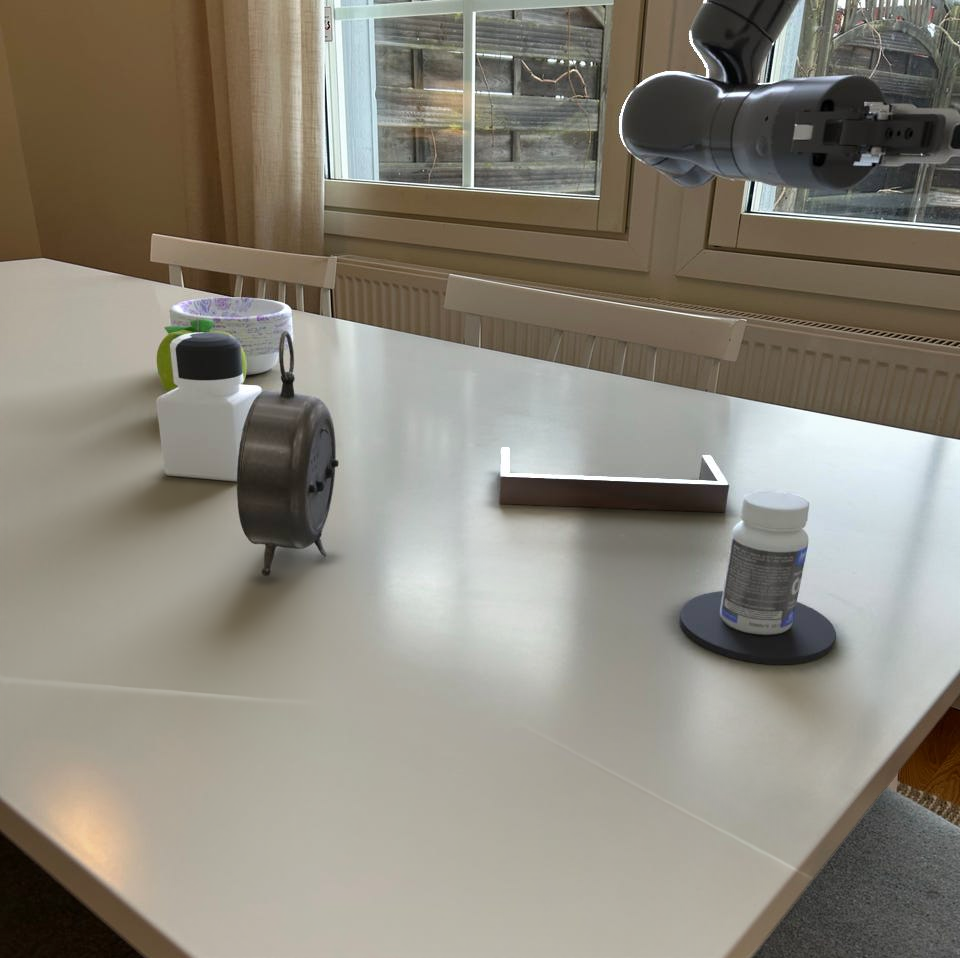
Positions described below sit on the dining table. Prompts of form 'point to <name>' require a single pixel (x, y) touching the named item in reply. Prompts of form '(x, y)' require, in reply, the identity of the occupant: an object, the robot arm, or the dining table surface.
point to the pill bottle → (765, 563)
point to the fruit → (165, 355)
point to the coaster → (793, 646)
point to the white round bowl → (242, 325)
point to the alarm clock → (285, 467)
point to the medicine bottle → (204, 407)
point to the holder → (616, 490)
